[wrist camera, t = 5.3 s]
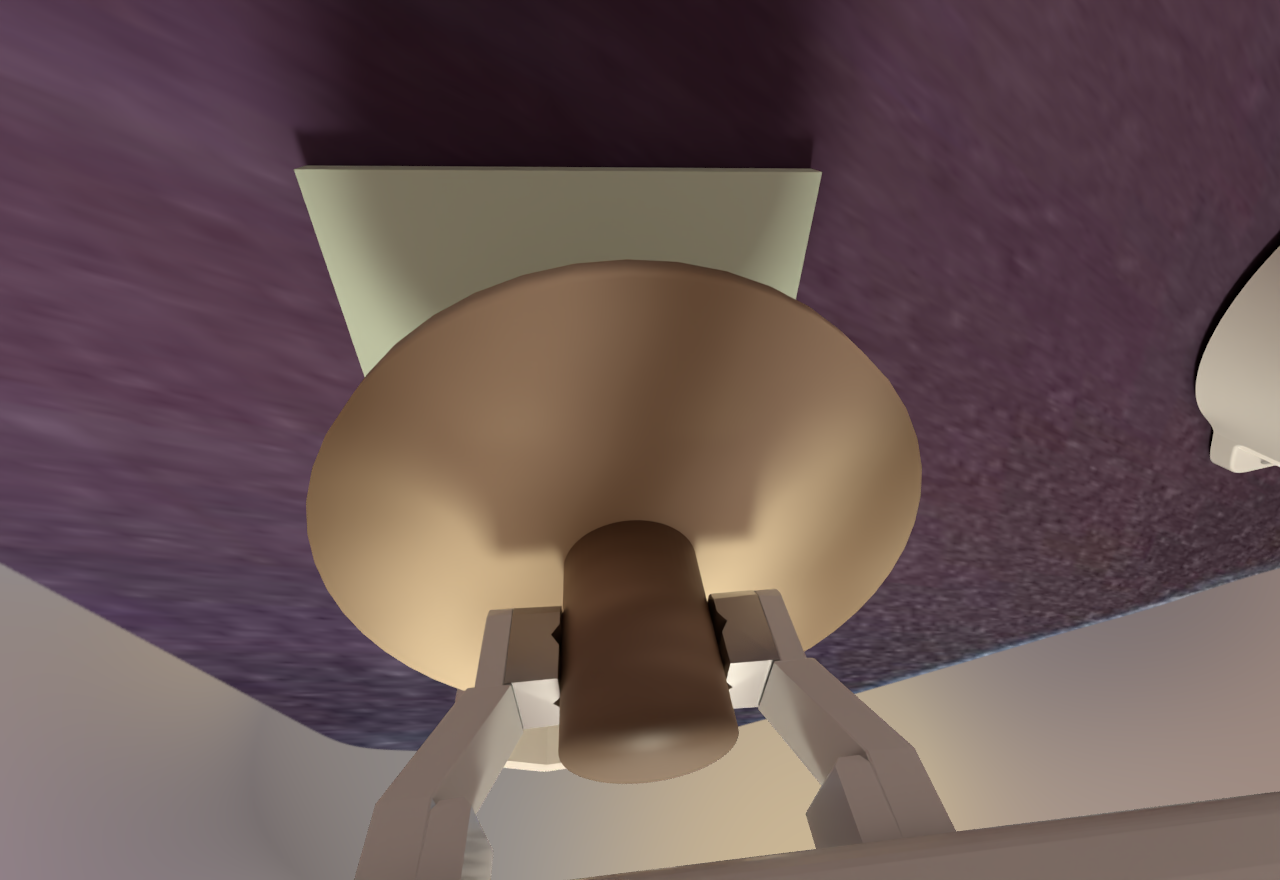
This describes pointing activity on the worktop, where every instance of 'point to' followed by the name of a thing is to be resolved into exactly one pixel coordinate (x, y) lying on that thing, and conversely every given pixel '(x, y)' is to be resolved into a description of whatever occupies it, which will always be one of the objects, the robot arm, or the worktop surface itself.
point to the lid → (614, 491)
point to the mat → (538, 230)
